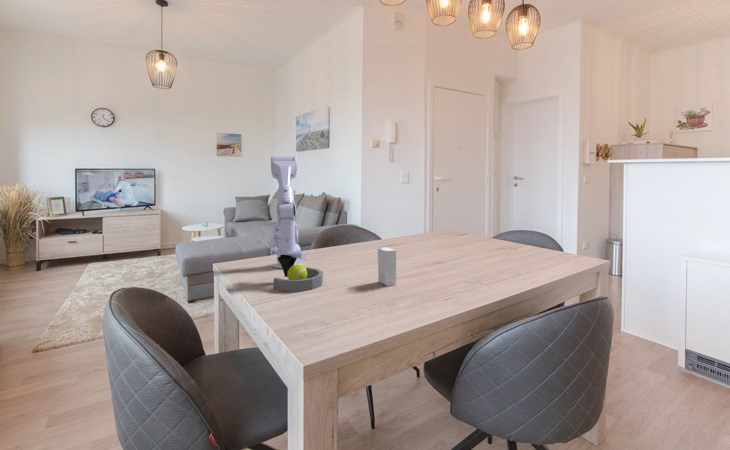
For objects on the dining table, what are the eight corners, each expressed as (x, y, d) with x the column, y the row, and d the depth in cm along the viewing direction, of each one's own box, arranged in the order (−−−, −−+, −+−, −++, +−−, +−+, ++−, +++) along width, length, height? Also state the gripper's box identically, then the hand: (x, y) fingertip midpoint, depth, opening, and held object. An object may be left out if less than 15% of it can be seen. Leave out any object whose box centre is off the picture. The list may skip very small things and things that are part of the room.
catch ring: (308, 276, 137) (308, 267, 137) (332, 281, 131) (332, 271, 131) (273, 289, 122) (273, 278, 122) (299, 294, 117) (299, 284, 116)
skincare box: (396, 284, 128) (397, 250, 126) (385, 286, 126) (386, 251, 124) (388, 280, 133) (388, 246, 132) (377, 281, 131) (377, 247, 130)
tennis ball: (300, 279, 133) (300, 261, 132) (311, 283, 128) (311, 264, 127) (283, 283, 129) (283, 264, 128) (294, 287, 124) (294, 268, 123)
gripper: (263, 237, 129) (264, 275, 131) (294, 242, 121) (295, 282, 123) (277, 234, 135) (279, 271, 137) (309, 238, 127) (309, 277, 129)
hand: (287, 276), depth 130 cm, fingers closed
